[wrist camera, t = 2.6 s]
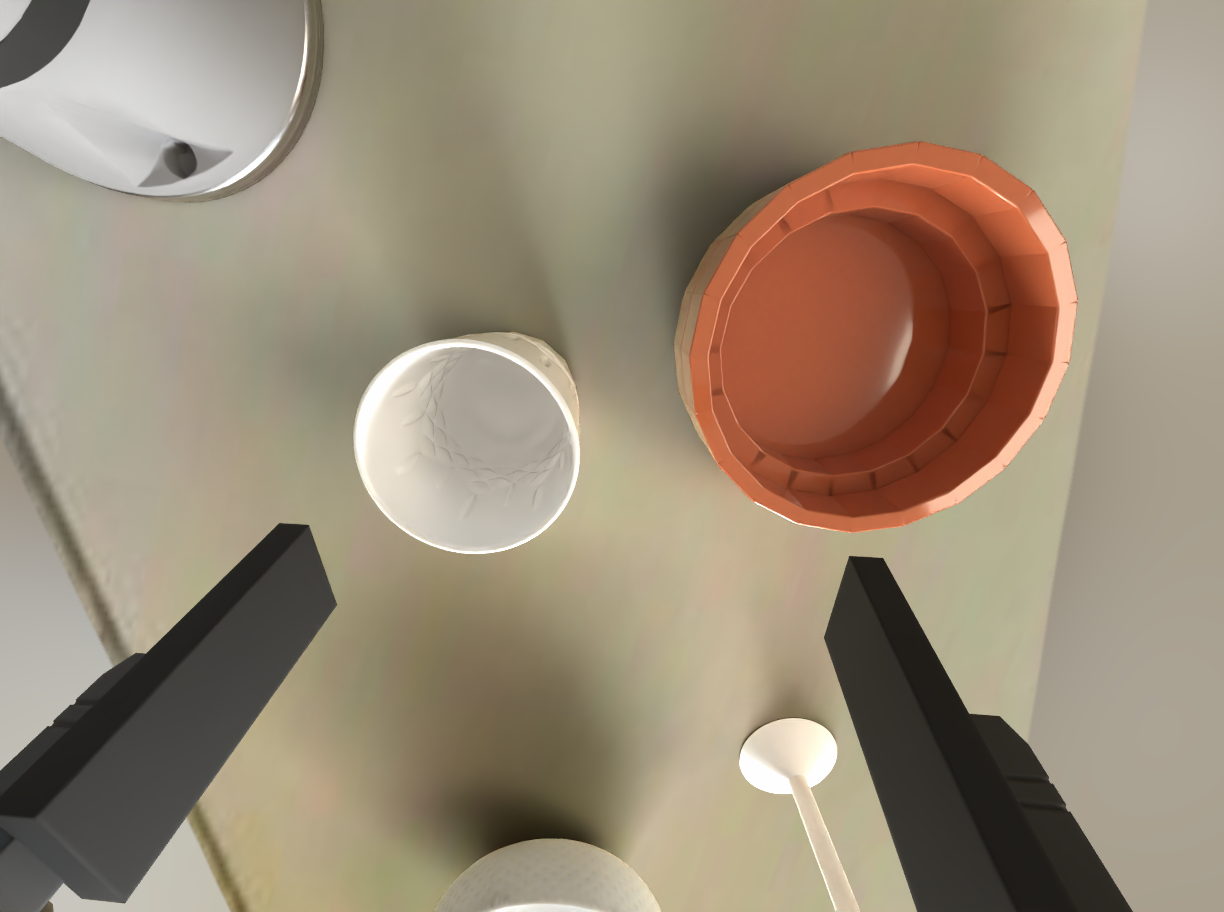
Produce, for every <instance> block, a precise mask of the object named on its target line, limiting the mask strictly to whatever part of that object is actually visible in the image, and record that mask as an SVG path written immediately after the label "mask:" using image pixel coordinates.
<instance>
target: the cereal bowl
mask: <svg viewBox="0 0 1224 912" xmlns="http://www.w3.org/2000/svg"><path fill="white" fill-rule="evenodd" d="M433 912H661V909H660V907H659V906H658V904H657V901H656V899H655V898H654V896H653V895H652V893H651V891H650V889H649V888H648V887H647V885H646V883H645V882H644V881H643V880H642V879H641V878H640V876H639V875H638V874H637V873H636V872H634V871H633V869H632V868H631V867H630V866H628V865H627V864H626V863H625V862H624V861H622V860H620V859H619V858H618V857H616V856H615V855H612V854H610V853H609V852H608V851H605V850H604V849H600V848H598V847H597V846H593V845H590V844H587V843H582V842H579V841H574V840H568V839H549V838H548V839H534V840H529V841H522V842H519V843H516V844H512V845H509V846H506V847H503V848H500V849H498V850H496V851H494V852H491V853H489V854H487V855H486V856H484V857H482V858H480V859H479V860H478V861H477V862H475V863H473V864H472V865H471V866H470V867H469V868H468V869H466V870H464V871H463V872H462V874H461V875H460V876H459V877H458V878H456V879H455V880H454V882H453V883H452V884H451V885H450V886H449V887H448V888H447V890H446V892H445V893H444V894H443V895H442V897H441V898H440V900H439V902H438V904H437V905H436V907H435V909H434V911H433Z"/></svg>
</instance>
